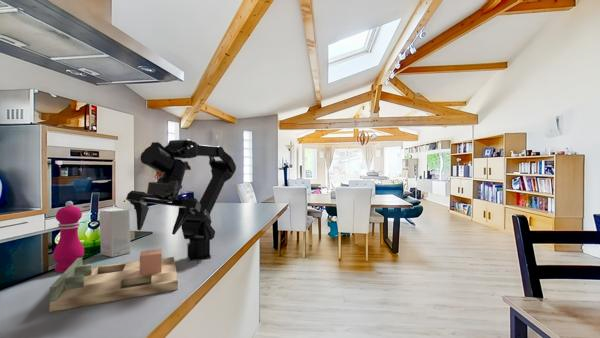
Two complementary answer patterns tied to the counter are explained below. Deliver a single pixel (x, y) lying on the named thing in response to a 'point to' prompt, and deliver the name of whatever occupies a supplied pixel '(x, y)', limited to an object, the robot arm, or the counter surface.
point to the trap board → (108, 283)
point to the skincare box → (115, 232)
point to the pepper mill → (68, 237)
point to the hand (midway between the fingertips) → (156, 232)
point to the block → (150, 262)
